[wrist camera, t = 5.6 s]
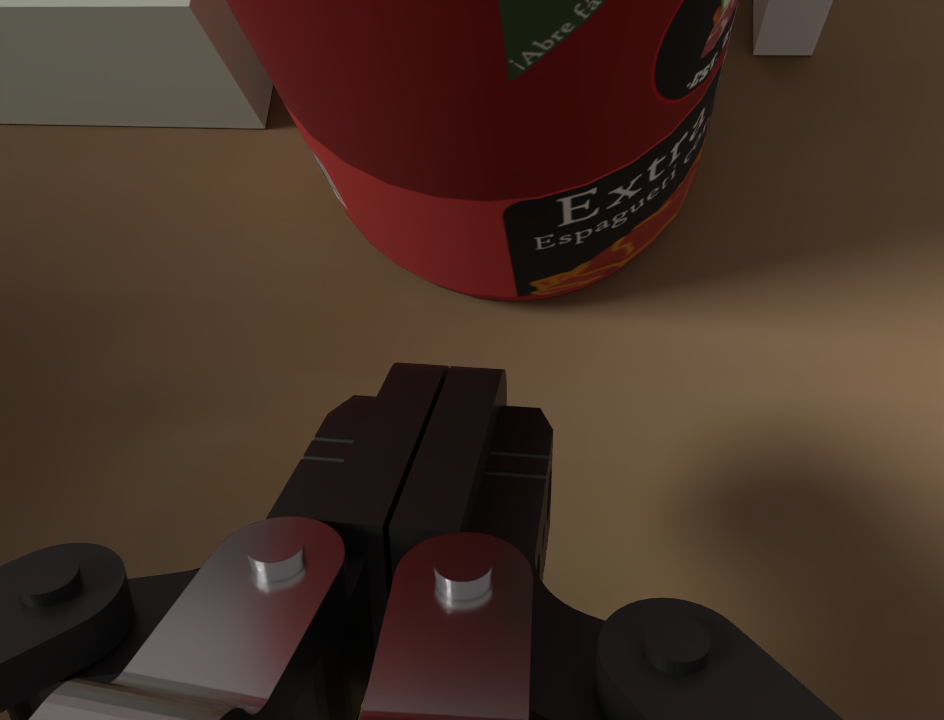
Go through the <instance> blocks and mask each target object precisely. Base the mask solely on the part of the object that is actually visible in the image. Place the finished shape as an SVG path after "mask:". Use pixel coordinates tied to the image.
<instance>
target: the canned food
mask: <svg viewBox="0 0 944 720" xmlns="http://www.w3.org/2000/svg"><path fill="white" fill-rule="evenodd" d="M226 2H227V4H228V6H229V7H230V9H231V11H232V13H233V14H234V16H235V18H236V20H237V21H238V23H239V25H240V27H241V28H242V30H243V32H244V34H245V36H246V37H247V39H248V41H249V43H250V44H251V46H252V48H253V50H254V51H255V53H256V55H257V57H258V58H259V60H260V62H261V64H262V66H263V67H264V69H265V71H266V73H267V74H268V76H269V78H270V80H271V81H272V83H273V85H274V87H275V88H276V90H277V92H278V94H279V96H280V97H281V99H282V101H283V103H284V104H285V106H286V108H287V110H288V111H289V113H290V115H291V117H292V118H293V120H294V122H295V124H296V126H297V127H298V129H299V131H300V133H301V134H302V136H303V138H304V140H305V141H306V143H307V145H308V147H309V148H310V150H311V152H312V154H313V156H314V157H315V159H316V161H317V163H318V164H319V166H320V168H321V170H322V171H323V173H324V175H325V177H326V178H327V180H328V182H329V184H330V186H331V187H332V189H333V191H334V193H335V194H336V196H337V198H338V200H339V201H340V203H341V205H342V207H343V208H344V210H345V212H346V214H347V216H348V217H349V218H350V219H351V220H352V222H353V223H354V224H355V225H356V227H357V228H358V229H359V230H360V231H361V233H362V234H363V235H364V236H365V237H366V239H367V240H368V241H369V242H370V243H371V244H372V245H373V246H375V247H376V248H377V249H378V250H380V251H381V252H382V253H383V254H385V255H386V256H387V257H388V258H390V259H391V260H392V261H393V262H395V263H396V264H397V265H399V266H401V267H402V268H404V269H406V270H408V271H410V272H412V273H414V274H416V275H418V276H420V277H422V278H424V279H426V280H428V281H429V282H431V283H433V284H436V285H438V286H440V287H442V288H445V289H448V290H452V291H455V292H458V293H462V294H465V295H468V296H472V297H475V298H484V299H493V300H503V301H521V300H534V299H546V298H550V297H554V296H558V295H561V294H565V293H569V292H572V291H576V290H580V289H582V288H585V287H587V286H589V285H591V284H593V283H595V282H597V281H599V280H601V279H603V278H605V277H607V276H609V275H611V274H613V273H614V272H616V271H617V270H618V269H620V268H621V267H622V266H624V265H625V264H626V263H628V262H629V261H630V260H631V259H633V258H634V257H635V256H637V255H638V254H639V253H641V252H642V251H643V250H644V249H646V248H647V247H648V246H649V245H650V244H652V243H653V241H654V240H655V239H656V238H657V237H658V236H659V235H660V233H661V232H662V231H663V230H664V229H665V228H666V226H667V225H668V224H669V223H670V222H671V221H672V219H673V218H674V217H675V216H676V215H677V213H678V211H679V209H680V207H681V205H682V204H683V202H684V200H685V198H686V196H687V194H688V193H689V191H690V189H691V187H692V185H693V183H694V179H695V176H696V172H697V168H698V165H699V161H700V158H701V154H702V150H703V146H704V142H705V138H706V134H707V130H708V126H709V122H710V118H711V114H712V110H713V106H714V102H715V97H716V93H717V89H718V85H719V81H720V77H721V73H722V69H723V65H724V61H725V57H726V53H727V49H728V45H729V40H730V36H731V32H732V28H733V24H734V20H735V16H736V12H737V8H738V4H739V0H226Z"/></svg>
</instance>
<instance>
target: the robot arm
mask: <svg viewBox="0 0 944 720" xmlns="http://www.w3.org/2000/svg"><path fill="white" fill-rule="evenodd" d="M552 449H553V429H552V427H551V426H550V424H549V422H548V420H547V419H546V417H545V415H544V414H543V412H542V410H541V409H540V408H530V407H516V406H507V381H506V372H505V370H504V369H488V368H472V367H456V366H451V367H450V368H449V366H443V365H427V364H411V363H394V364H393V366H392V368H391V370H390V371H389V373H388V375H387V377H386V379H385V381H384V383H383V385H382V387H381V389H380V391H379V393H378V395H377V397H372V396H358V395H354V396H352V397H351V398H350V399H348V400H347V401H345V402H344V403H342V404H341V405H340V406H338V407H337V408H335V409H334V410H333V411H331V412H330V413H328V414H327V416H326V418H325V420H324V421H323V423H322V425H321V426H320V428H319V430H318V431H317V433H316V435H315V440H314V441H312V442H311V443H310V445H309V447H308V448H307V450H306V452H305V454H304V459H303V460H300V462H299V464H298V465H297V467H296V469H295V470H294V472H293V474H292V476H291V477H290V479H289V481H288V482H287V484H286V486H285V487H284V489H283V491H282V493H281V494H280V496H279V498H278V499H277V501H276V503H275V504H274V506H273V508H272V510H271V511H270V513H269V515H268V516H267V518H266V520H262V521H258V522H255V523H252V524H250V525H247V526H245V527H243V528H241V529H239V530H237V531H236V532H234V533H233V534H231V535H230V536H228V537H227V538H226V539H225V540H223V541H222V542H221V543H220V545H219V546H218V547H217V548H216V549H215V550H214V552H213V553H212V554H211V556H210V557H209V558H208V560H207V561H206V562H205V564H204V565H203V566H202V568H198V569H194V570H190V571H184V572H179V573H171V574H164V575H156V576H149V577H141V578H134V579H127V575H126V571H125V567H124V564H123V561H122V560H121V558H120V557H119V556H118V555H117V554H116V553H115V552H114V551H112V550H110V549H108V548H106V547H103V546H100V545H96V544H89V543H70V544H62V545H56V546H51V547H48V548H44V549H41V550H38V551H35V552H33V553H30V554H27V555H25V556H23V557H20V558H18V559H16V560H14V561H11V562H9V563H7V564H4V565H2V566H0V713H1V712H3V711H5V710H6V709H7V711H8V713H9V716H10V719H11V720H843V719H841V718H840V717H839V716H838V715H837V714H836V713H835V712H833V711H832V710H831V709H830V708H829V707H828V706H827V705H825V704H824V703H823V702H822V701H821V700H820V699H819V698H817V697H816V696H815V695H814V694H813V693H812V692H811V691H809V690H808V689H807V688H806V687H805V686H804V685H803V684H801V683H800V682H799V681H798V680H797V679H796V678H795V677H793V676H792V675H791V674H790V673H789V672H788V671H787V670H785V669H784V668H783V667H782V666H781V665H780V664H779V663H778V662H776V661H775V660H774V659H773V658H772V657H771V656H770V655H768V654H767V653H766V652H765V651H764V650H763V649H762V648H760V647H759V646H758V645H757V644H756V643H755V642H754V641H752V640H751V639H750V638H749V637H748V636H747V635H746V634H744V633H743V632H742V631H741V630H740V629H739V628H738V627H736V626H735V625H734V624H733V623H732V622H730V621H729V620H728V619H726V618H725V617H724V616H722V615H720V614H719V613H717V612H715V611H713V610H712V609H709V608H707V607H705V606H702V605H700V604H696V603H693V602H690V601H686V600H680V599H674V598H650V599H645V600H639V601H636V602H633V603H630V604H627V605H625V606H624V607H622V608H620V609H618V610H617V611H615V612H614V613H613V614H612V615H611V616H610V617H609V618H608V619H607V620H606V621H604V620H601V619H598V618H596V617H593V616H590V615H587V614H585V613H582V612H580V611H578V610H575V609H573V608H571V607H570V606H568V605H566V604H565V603H563V602H562V601H560V600H559V599H558V598H556V597H555V596H554V595H553V594H552V593H551V592H550V591H549V590H548V589H547V588H546V587H545V585H544V584H543V582H542V581H543V572H544V566H545V558H546V550H547V542H548V534H549V527H550V507H551V478H552ZM366 690H367V692H366ZM365 693H366V696H365ZM364 696H365V700H364V704H363V709H362V713H361V705H362V702H363V699H364Z"/></svg>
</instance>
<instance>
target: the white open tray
mask: <svg viewBox="0 0 944 720" xmlns="http://www.w3.org/2000/svg"><path fill="white" fill-rule="evenodd" d="M832 3H833V0H753V55H813V52H814V49H815V47H816V44H817V42H818V39H819V36H820V34H821V31H822V29H823V26H824V23H825V21H826V18H827V16H828V13H829V10H830V8H831V5H832ZM272 89H273V83H272V81H271V80H270V78H269V76H268V74H267V73H266V71H265V69H264V67H263V66H262V64H261V62H260V60H259V58H258V57H257V55H256V53H255V51H254V50H253V48H252V46H251V44H250V43H249V41H248V39H247V37H246V36H245V34H244V32H243V30H242V28H241V27H240V25H239V23H238V21H237V20H236V18H235V16H234V14H233V13H232V11H231V9H230V7H229V6H228V4H227V2H226V0H0V124H42V125H95V126H148V127H201V128H255V129H265V126H266V121H267V115H268V110H269V105H270V100H271V94H272Z"/></svg>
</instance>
